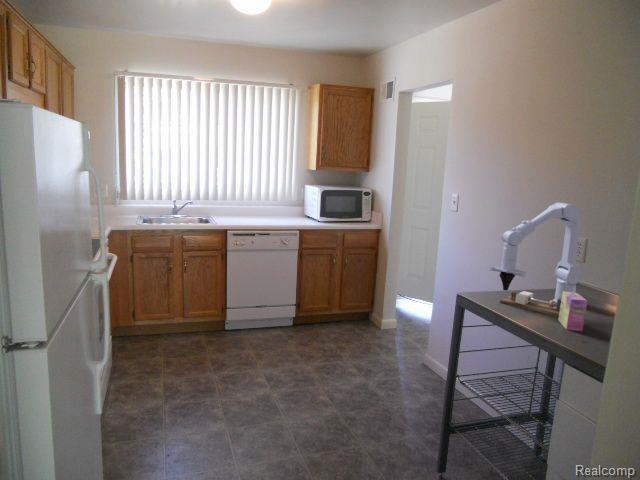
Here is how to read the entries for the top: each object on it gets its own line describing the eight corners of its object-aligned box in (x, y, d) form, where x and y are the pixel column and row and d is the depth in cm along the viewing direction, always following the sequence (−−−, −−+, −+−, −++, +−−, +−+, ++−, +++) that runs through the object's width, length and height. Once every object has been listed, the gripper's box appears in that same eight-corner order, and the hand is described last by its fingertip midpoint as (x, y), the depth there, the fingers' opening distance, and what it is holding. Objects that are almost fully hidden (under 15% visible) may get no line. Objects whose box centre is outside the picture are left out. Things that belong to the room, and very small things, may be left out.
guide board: (509, 297, 212) (510, 288, 211) (573, 312, 195) (574, 301, 194) (499, 302, 204) (500, 292, 203) (565, 318, 186) (566, 307, 186)
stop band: (550, 306, 196) (551, 299, 196) (553, 306, 195) (554, 300, 195) (548, 307, 194) (549, 300, 194) (551, 308, 193) (552, 301, 193)
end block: (559, 309, 195) (560, 297, 194) (566, 310, 193) (568, 299, 192) (556, 311, 192) (557, 299, 191) (564, 312, 190) (565, 300, 189)
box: (583, 331, 172) (587, 300, 170) (566, 329, 173) (570, 298, 171) (574, 322, 182) (578, 292, 180) (558, 320, 183) (562, 291, 181)
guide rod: (515, 296, 205) (515, 294, 205) (562, 307, 193) (562, 304, 192) (514, 297, 204) (514, 294, 204) (561, 307, 192) (561, 305, 191)
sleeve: (522, 298, 207) (523, 291, 206) (532, 300, 204) (533, 293, 204) (515, 302, 200) (516, 294, 200) (524, 304, 197) (525, 296, 197)
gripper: (488, 257, 203) (485, 287, 206) (523, 263, 194) (519, 295, 196) (495, 255, 208) (491, 285, 211) (529, 261, 199) (525, 292, 201)
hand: (505, 289), depth 204 cm, fingers closed
